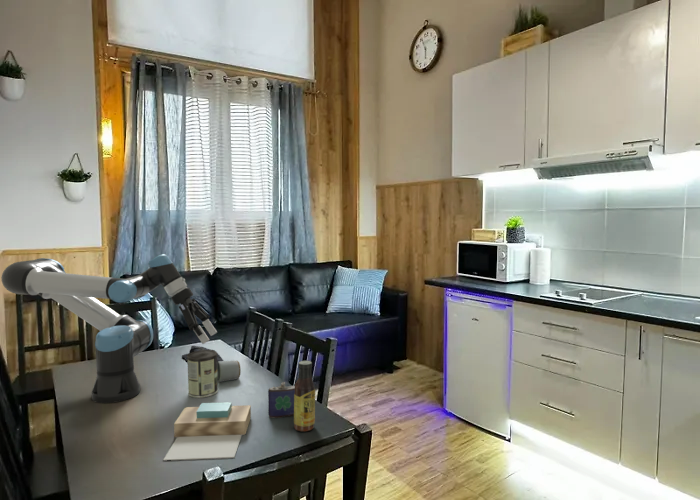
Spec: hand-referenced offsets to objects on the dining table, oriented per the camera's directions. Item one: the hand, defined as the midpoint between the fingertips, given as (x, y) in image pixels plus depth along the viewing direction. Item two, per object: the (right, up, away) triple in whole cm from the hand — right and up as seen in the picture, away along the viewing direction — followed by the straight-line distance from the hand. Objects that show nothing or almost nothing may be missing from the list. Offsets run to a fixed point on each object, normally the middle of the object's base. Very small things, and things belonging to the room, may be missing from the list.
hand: (210, 338), depth 169 cm
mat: (+14, -20, -49) cm, 54 cm away
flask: (+32, -19, -29) cm, 47 cm away
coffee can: (+1, -18, -10) cm, 20 cm away
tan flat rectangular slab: (+13, -19, -37) cm, 43 cm away
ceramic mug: (+5, -17, +3) cm, 18 cm away
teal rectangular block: (+13, -15, -37) cm, 42 cm away
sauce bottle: (+40, -20, -37) cm, 58 cm away
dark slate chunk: (-11, -16, +27) cm, 33 cm away
